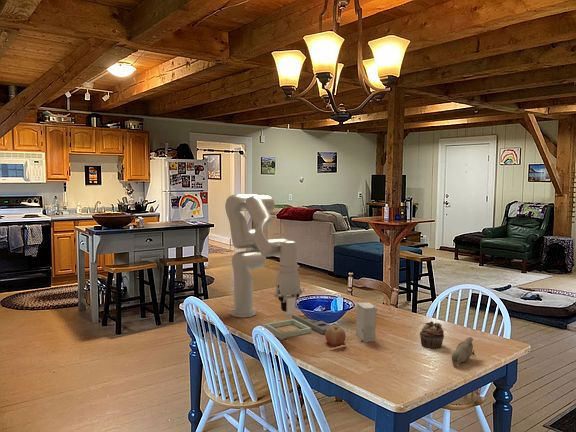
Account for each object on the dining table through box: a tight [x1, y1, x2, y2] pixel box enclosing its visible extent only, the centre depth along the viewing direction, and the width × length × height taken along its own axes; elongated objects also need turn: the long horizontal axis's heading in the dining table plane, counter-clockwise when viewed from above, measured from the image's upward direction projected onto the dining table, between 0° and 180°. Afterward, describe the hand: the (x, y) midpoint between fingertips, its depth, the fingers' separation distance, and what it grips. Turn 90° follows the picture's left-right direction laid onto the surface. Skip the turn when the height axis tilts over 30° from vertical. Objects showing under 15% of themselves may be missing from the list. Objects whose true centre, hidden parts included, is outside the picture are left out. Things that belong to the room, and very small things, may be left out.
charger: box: [281, 295, 296, 318], centre depth 209 cm, size 5×4×9 cm
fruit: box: [324, 324, 347, 348], centre depth 194 cm, size 8×8×8 cm
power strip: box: [292, 313, 332, 335], centre depth 220 cm, size 31×7×4 cm, turn 31°
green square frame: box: [264, 318, 312, 341], centre depth 210 cm, size 15×15×3 cm
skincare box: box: [355, 302, 378, 343], centre depth 202 cm, size 8×6×15 cm
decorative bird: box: [451, 336, 476, 368], centre depth 179 cm, size 5×16×8 cm, turn 139°
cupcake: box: [419, 320, 445, 350], centre depth 195 cm, size 10×10×10 cm
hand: (288, 309), depth 209 cm, fingers closed on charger, 4 cm apart
